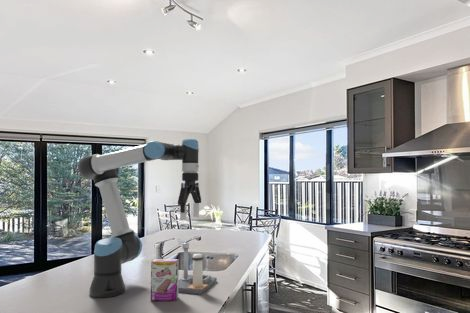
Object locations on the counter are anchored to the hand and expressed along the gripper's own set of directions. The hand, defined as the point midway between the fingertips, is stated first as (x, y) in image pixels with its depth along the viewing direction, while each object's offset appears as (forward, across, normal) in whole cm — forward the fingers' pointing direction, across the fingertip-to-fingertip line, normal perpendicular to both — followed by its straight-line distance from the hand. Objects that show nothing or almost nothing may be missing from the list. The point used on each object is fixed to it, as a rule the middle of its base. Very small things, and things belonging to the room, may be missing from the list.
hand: (190, 218), depth 164 cm
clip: (+16, +12, +10) cm, 22 cm away
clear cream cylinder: (+30, 0, -4) cm, 31 cm away
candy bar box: (+33, -14, +5) cm, 36 cm away
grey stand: (+33, +6, +1) cm, 33 cm away
